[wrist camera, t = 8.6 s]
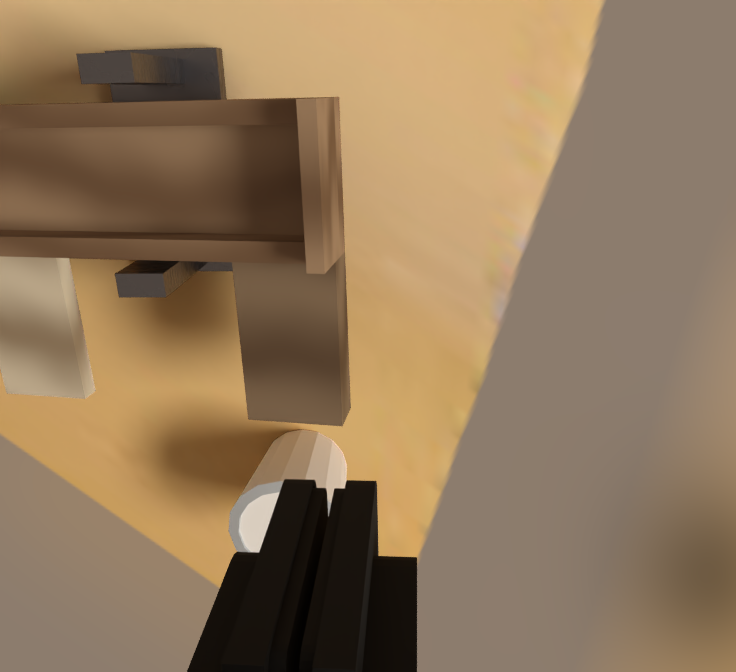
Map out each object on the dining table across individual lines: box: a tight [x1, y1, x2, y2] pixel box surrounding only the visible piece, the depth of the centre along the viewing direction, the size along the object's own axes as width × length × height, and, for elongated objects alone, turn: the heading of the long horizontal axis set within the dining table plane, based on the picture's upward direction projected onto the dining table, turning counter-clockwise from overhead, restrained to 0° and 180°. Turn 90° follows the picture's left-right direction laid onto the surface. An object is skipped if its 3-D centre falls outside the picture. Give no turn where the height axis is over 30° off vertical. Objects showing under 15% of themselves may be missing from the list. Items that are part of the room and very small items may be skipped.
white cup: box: [229, 430, 347, 552], centre depth 40 cm, size 7×7×7 cm
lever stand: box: [77, 48, 233, 297], centre depth 33 cm, size 12×6×8 cm, turn 1°
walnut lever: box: [0, 97, 351, 426], centre depth 31 cm, size 16×20×4 cm
